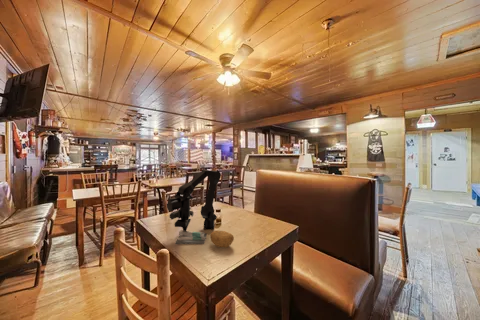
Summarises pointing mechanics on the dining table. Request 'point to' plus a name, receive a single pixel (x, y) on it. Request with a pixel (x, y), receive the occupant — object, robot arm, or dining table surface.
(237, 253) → the dining table surface
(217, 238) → the potato
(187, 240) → the slate board
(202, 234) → the tong arm
